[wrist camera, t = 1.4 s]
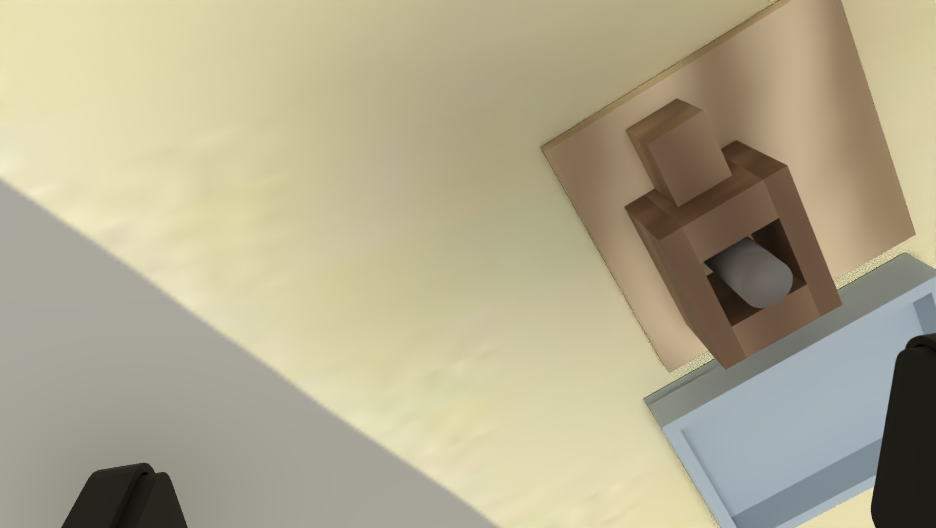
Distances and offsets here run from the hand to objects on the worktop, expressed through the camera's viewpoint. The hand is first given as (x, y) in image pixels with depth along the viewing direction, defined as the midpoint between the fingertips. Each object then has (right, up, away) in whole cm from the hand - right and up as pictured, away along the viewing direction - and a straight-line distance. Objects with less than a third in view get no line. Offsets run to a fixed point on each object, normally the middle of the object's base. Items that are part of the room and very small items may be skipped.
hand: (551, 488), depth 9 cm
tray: (+17, -4, +28) cm, 32 cm away
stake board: (+11, +6, +22) cm, 25 cm away
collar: (+9, +5, +21) cm, 24 cm away
